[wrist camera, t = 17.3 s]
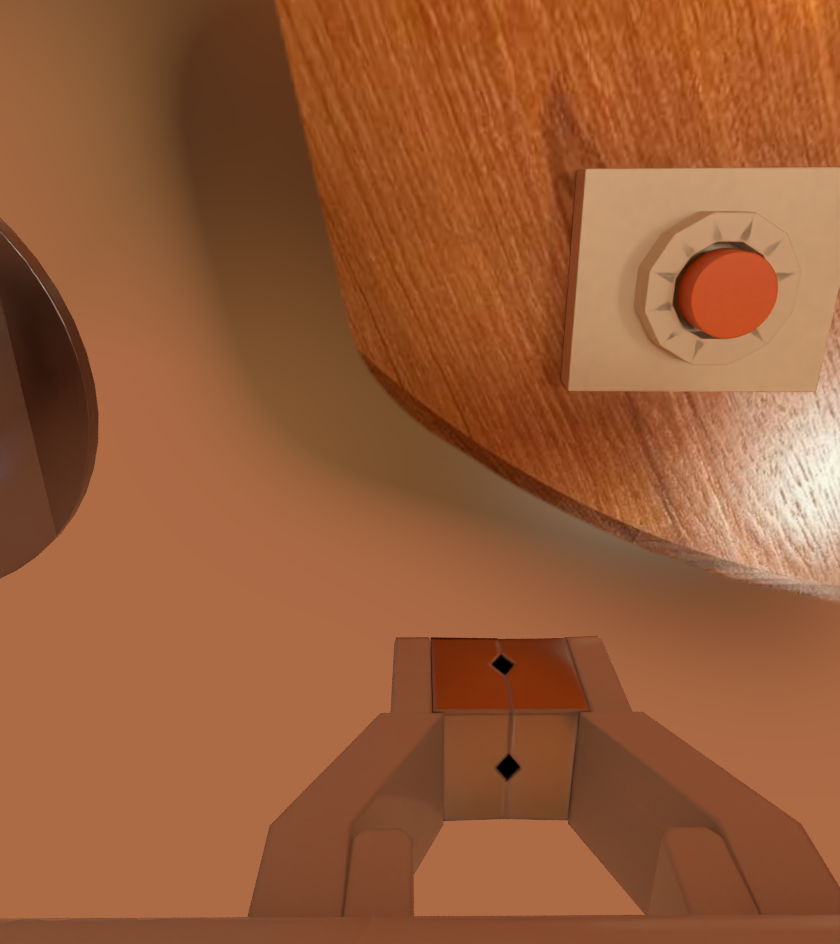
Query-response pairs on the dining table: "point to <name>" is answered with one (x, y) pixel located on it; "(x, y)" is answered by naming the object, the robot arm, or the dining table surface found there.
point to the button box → (671, 253)
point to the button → (728, 292)
